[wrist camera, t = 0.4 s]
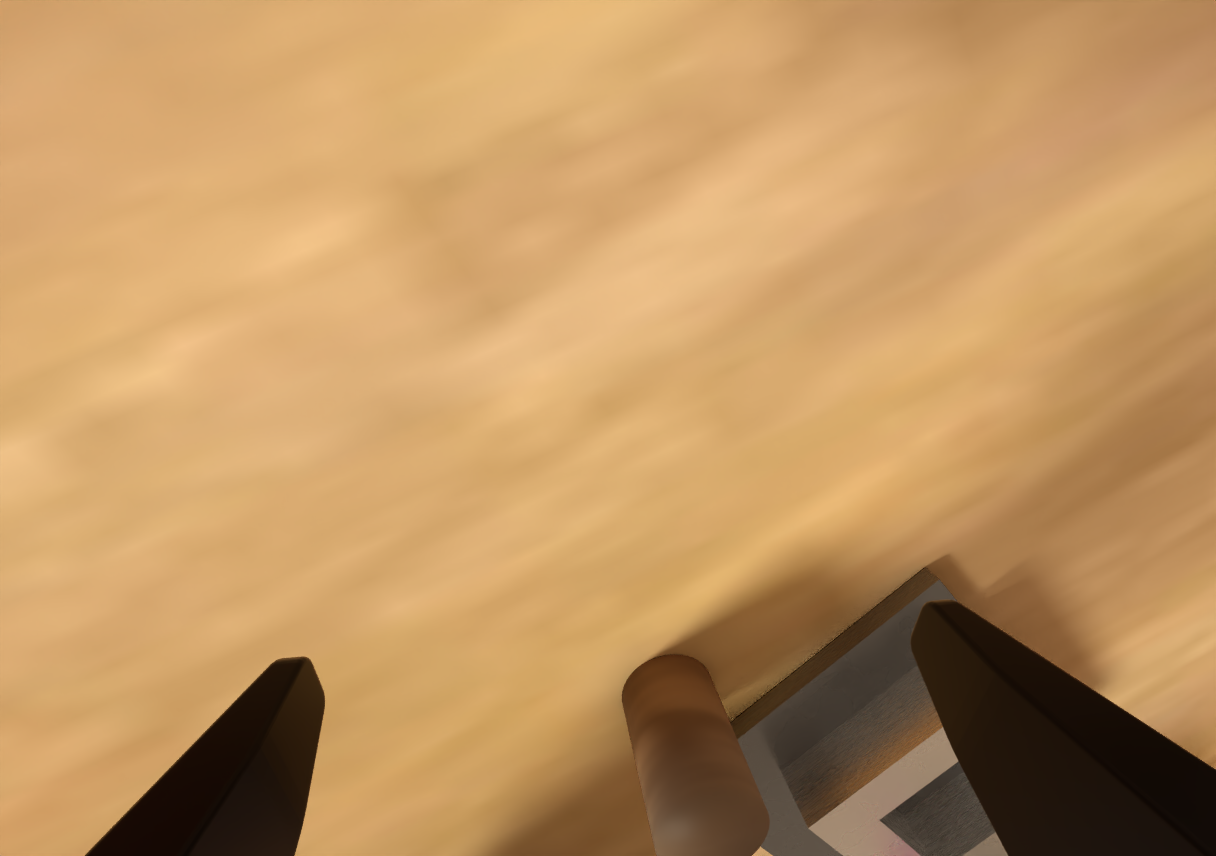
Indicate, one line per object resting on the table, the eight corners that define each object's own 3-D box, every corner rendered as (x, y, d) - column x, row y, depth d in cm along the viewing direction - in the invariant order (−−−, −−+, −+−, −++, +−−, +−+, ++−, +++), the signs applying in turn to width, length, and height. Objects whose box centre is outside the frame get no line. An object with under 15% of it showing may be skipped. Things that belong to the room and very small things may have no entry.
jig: (857, 904, 36) (896, 983, 33) (673, 768, 30) (695, 846, 26) (1074, 748, 34) (1142, 813, 31) (925, 567, 28) (987, 621, 24)
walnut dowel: (662, 741, 30) (703, 891, 23) (602, 696, 28) (629, 844, 21) (729, 687, 29) (792, 825, 22) (672, 638, 27) (722, 771, 21)
